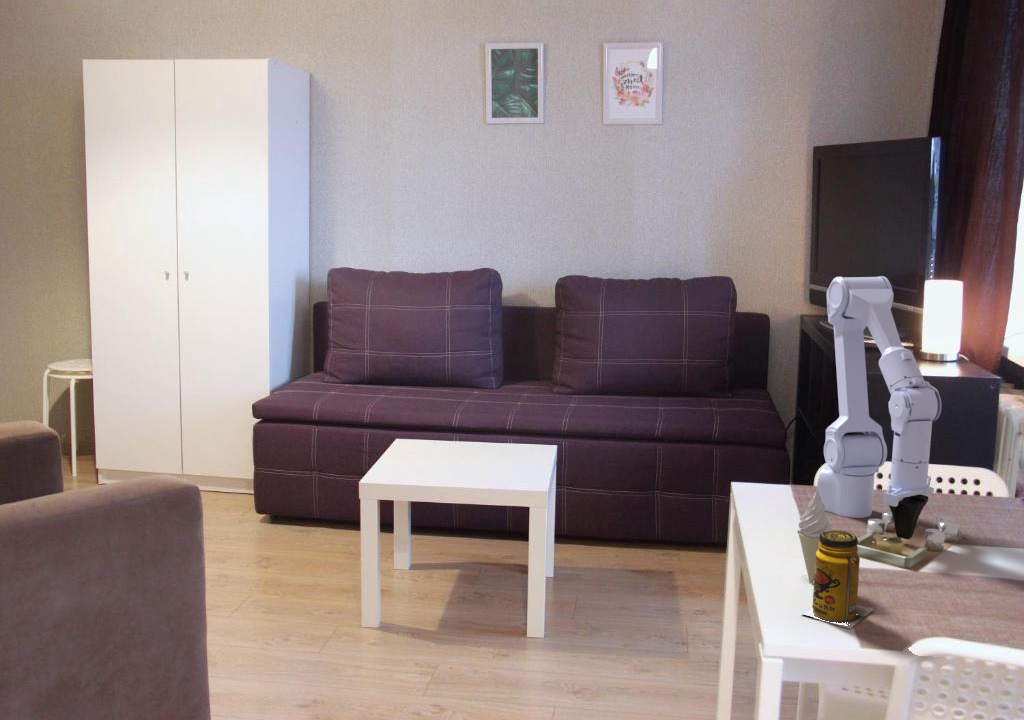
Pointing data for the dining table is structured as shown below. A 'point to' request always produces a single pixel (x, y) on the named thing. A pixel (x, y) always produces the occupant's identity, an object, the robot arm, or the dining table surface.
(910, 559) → the tan tray
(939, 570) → the dining table surface
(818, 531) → the ice cream cone
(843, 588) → the condiment
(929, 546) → the spacers
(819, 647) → the dining table surface
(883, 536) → the nut
